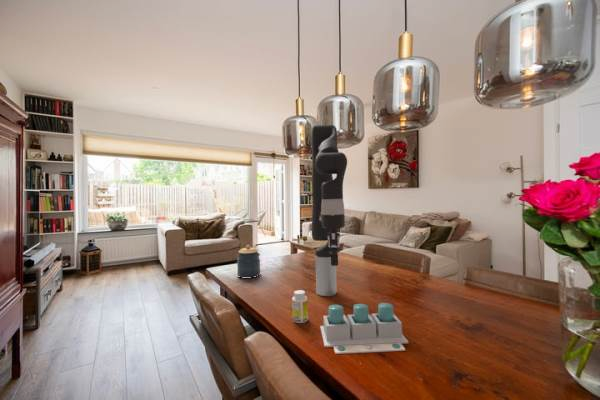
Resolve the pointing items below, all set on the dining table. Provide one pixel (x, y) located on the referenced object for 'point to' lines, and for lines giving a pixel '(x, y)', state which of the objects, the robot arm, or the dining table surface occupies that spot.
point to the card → (368, 348)
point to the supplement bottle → (300, 307)
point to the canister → (248, 262)
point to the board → (362, 332)
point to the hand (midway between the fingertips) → (334, 262)
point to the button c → (385, 312)
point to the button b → (361, 313)
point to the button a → (335, 314)
